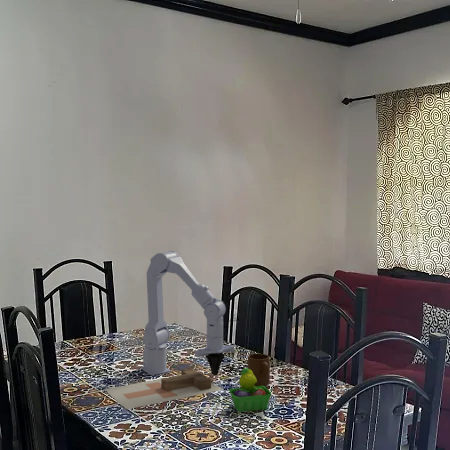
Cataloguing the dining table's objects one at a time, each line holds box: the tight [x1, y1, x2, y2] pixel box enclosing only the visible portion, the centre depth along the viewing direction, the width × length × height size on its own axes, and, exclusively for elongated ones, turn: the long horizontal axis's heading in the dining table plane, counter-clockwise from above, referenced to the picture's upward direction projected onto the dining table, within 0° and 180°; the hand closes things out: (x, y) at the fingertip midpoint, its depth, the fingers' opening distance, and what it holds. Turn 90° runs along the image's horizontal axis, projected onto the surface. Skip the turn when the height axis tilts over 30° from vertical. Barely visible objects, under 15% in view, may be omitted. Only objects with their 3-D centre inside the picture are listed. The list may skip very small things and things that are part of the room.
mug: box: [247, 353, 271, 387], centre depth 192 cm, size 12×8×9 cm, turn 16°
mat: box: [103, 378, 224, 410], centre depth 188 cm, size 20×34×1 cm, turn 121°
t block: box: [160, 367, 212, 391], centre depth 191 cm, size 14×14×3 cm
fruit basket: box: [229, 367, 272, 413], centre depth 173 cm, size 11×9×11 cm
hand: (214, 374), depth 198 cm, fingers closed
